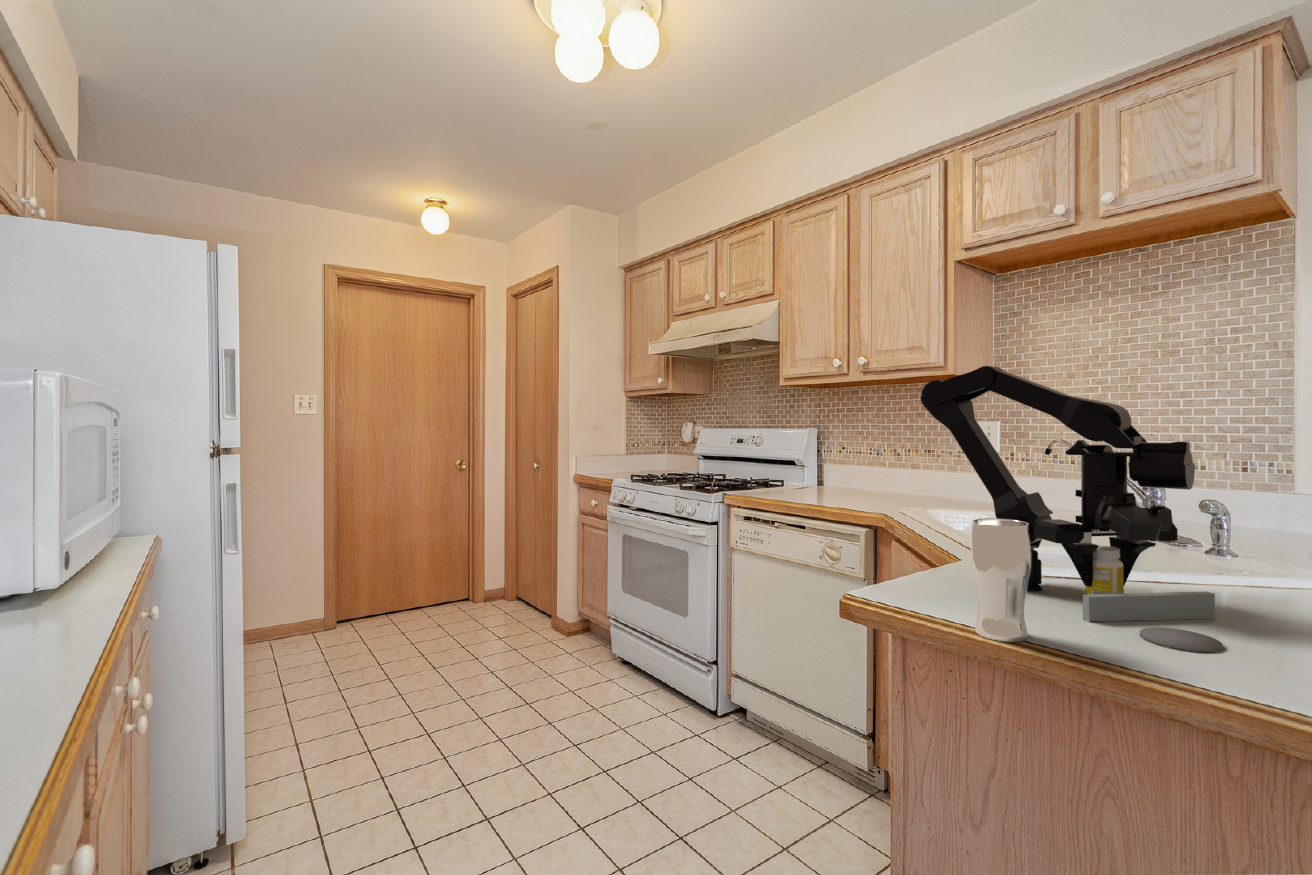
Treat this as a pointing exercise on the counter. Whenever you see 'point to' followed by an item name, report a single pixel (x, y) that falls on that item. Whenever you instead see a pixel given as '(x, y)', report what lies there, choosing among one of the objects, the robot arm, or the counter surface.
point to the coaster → (1181, 639)
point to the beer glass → (1001, 577)
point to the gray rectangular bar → (1149, 606)
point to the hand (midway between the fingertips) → (1104, 585)
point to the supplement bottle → (1107, 572)
